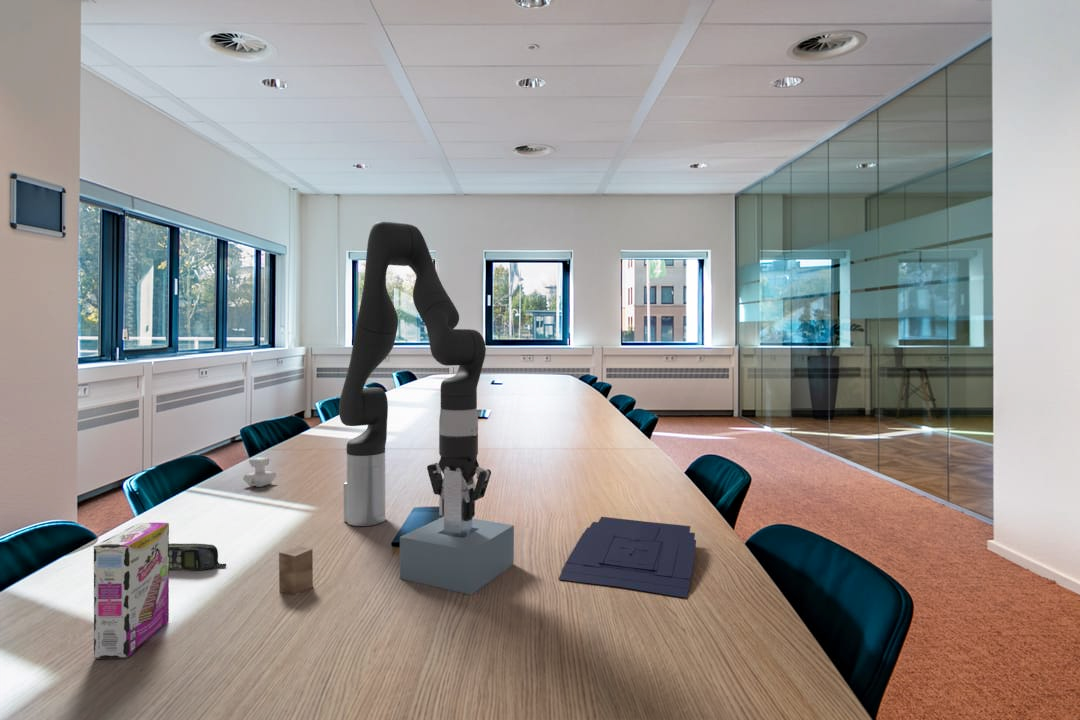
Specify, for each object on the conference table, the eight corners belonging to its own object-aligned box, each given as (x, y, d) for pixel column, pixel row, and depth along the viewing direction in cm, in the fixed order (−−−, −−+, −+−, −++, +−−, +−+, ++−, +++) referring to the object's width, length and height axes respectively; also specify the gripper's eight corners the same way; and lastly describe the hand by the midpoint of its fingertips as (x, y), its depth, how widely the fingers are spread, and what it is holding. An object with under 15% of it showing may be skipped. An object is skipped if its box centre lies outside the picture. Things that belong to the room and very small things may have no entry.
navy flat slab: (699, 538, 133) (699, 523, 133) (687, 612, 105) (687, 593, 105) (593, 526, 141) (593, 512, 140) (556, 592, 113) (556, 574, 112)
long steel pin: (443, 541, 115) (443, 469, 115) (455, 534, 119) (455, 465, 118) (461, 544, 113) (461, 472, 113) (472, 538, 117) (472, 467, 116)
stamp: (259, 490, 176) (259, 461, 176) (240, 488, 178) (239, 460, 177) (279, 482, 185) (279, 456, 184) (260, 481, 186) (260, 454, 186)
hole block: (399, 578, 113) (399, 536, 112) (448, 551, 127) (448, 514, 127) (471, 594, 106) (471, 550, 105) (513, 564, 120) (513, 525, 120)
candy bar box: (129, 659, 84) (127, 545, 83) (92, 660, 84) (90, 546, 83) (172, 621, 95) (170, 520, 95) (139, 622, 95) (137, 521, 94)
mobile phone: (142, 547, 115) (219, 546, 115) (152, 542, 118) (227, 540, 118) (143, 572, 115) (220, 571, 115) (153, 566, 118) (228, 565, 118)
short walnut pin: (279, 590, 107) (278, 552, 107) (297, 582, 111) (296, 545, 110) (295, 594, 105) (294, 556, 105) (312, 586, 109) (312, 548, 109)
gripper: (417, 431, 115) (417, 518, 116) (479, 437, 109) (479, 529, 110) (439, 426, 122) (439, 508, 122) (499, 431, 116) (499, 518, 116)
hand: (458, 517), depth 116 cm, fingers closed on long steel pin, 4 cm apart
